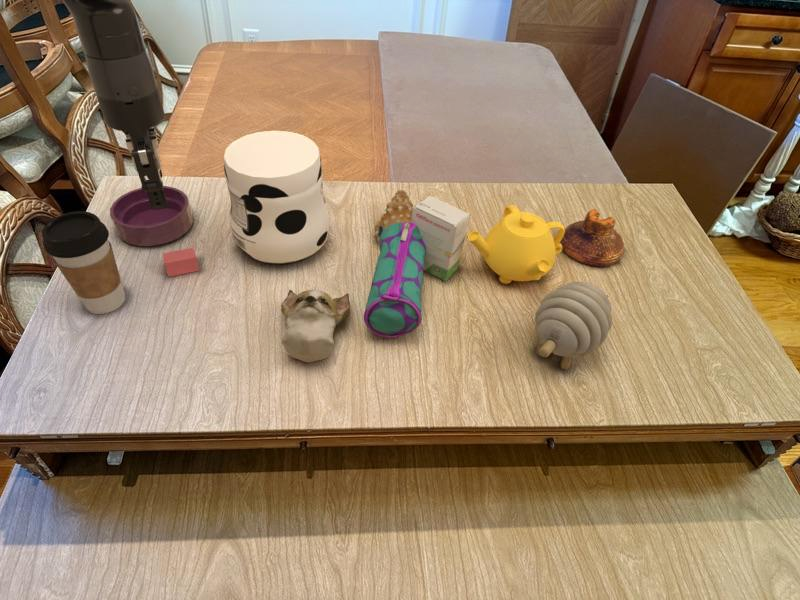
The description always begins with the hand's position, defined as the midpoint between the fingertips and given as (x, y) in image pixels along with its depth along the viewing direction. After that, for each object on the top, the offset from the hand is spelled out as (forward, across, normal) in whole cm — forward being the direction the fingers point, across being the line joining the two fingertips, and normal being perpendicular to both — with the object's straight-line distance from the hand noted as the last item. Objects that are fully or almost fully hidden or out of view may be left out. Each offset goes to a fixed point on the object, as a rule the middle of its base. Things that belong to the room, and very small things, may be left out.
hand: (157, 192), depth 81 cm
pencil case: (+15, +18, +32) cm, 40 cm away
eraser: (+15, 0, 0) cm, 15 cm away
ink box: (+15, +13, +42) cm, 46 cm away
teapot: (+15, +19, +54) cm, 59 cm away
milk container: (+15, -2, +18) cm, 24 cm away
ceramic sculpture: (+15, +22, +17) cm, 32 cm away
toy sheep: (+15, +37, +52) cm, 66 cm away
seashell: (+15, +1, +39) cm, 42 cm away
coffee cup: (+16, +4, -12) cm, 20 cm away
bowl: (+15, -14, -3) cm, 21 cm away
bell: (+15, +18, +72) cm, 76 cm away
